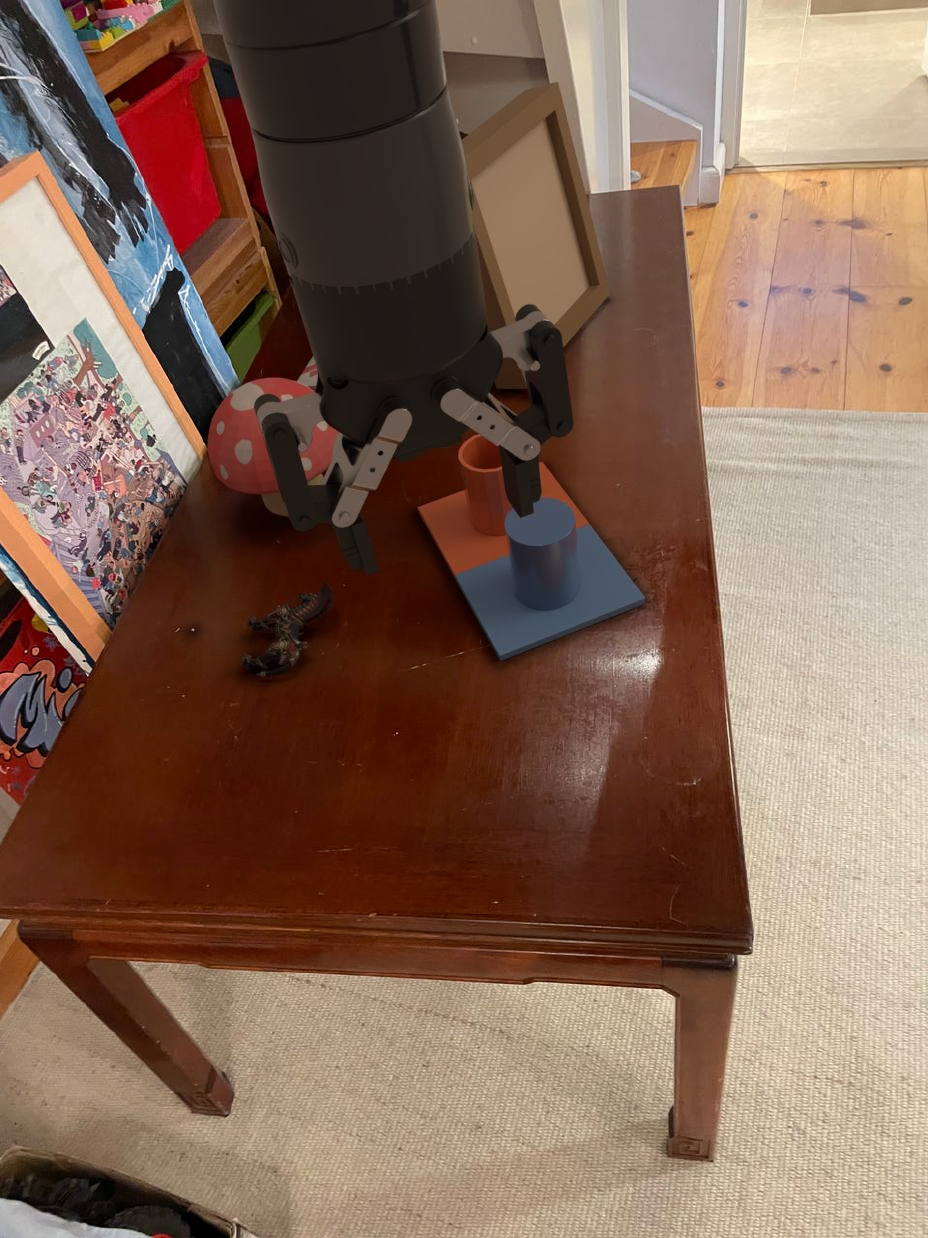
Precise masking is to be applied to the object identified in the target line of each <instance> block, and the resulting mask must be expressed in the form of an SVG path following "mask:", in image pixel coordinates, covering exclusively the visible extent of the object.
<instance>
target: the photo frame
mask: <svg viewBox="0 0 928 1238" xmlns="http://www.w3.org/2000/svg"><path fill="white" fill-rule="evenodd" d="M561 92H562V91H561V88H560V84H559V81H556V82H551V83H547V84H544V85H540V86H536V87H531V88H528V89H525V90H523V91H522V92H521V93H519V94H518V95H517V96H515V97H514V98H513V99H512V100H511V101H509V102H508V103H507V104H505V105H504V106H503V107H502V108H500V109H498V111H496V113H494V114H493V115H491V116H490V117H488V119H487V120H485V121H484V122H483V123H481V124H480V125H479V126H477V127H476V128H475V129H474V130H473V131H471V132H469V133H468V134H467V135H466V136H465V137H463V138H461V141H462V145H463V150H464V156H465V161H466V168H467V175H468V178H469V181H471V185H472V190H473V196H474V204H473V218H474V225H475V232H476V239H477V247H478V255H479V262H480V269H481V276H482V283H483V290H484V297H485V304H486V311H487V320H488V328H489V330H490V332H492V331H495V330H497V329H499V328H502V327H504V326H507V325H509V324H512V323H514V322H515V317H516V314H517V312H518V310H519V309H520V308H521V307H522V306H524V305H527V304H533V305H535V306H536V307H537V308H538V309H539V310H540V311H541V312H542V313H543V314H544V315H545V316H546V317H547V318H548V319H549V320H550V321H551V322H552V323H553V324H554V325H555V326H556V327H557V329H558V330H559V331H560V332H561V335H562V342H563V349H564V348H565V347H566V345H567V344H568V343H569V341H571V340H572V339H573V337H574V336H575V335H576V334H577V333H578V332H579V331H580V329H581V328H583V326H584V325H585V324H586V322H587V321H588V320H589V319H590V318H591V317H592V316H593V314H594V313H595V312H596V311H597V310H598V309H599V307H601V305H602V304H603V303H604V302H605V301H606V299H607V298H608V297H609V296H610V295H611V291H610V287H609V282H608V278H607V274H606V270H605V265H604V262H603V257H602V254H601V250H600V246H599V242H598V238H597V233H596V229H595V225H594V221H593V217H592V213H591V209H590V206H589V202H588V201H589V200H588V197H587V193H586V188H585V186H584V181H583V177H582V173H581V169H580V165H579V161H578V158H577V153H576V149H575V144H574V140H573V137H572V132H571V128H570V125H569V120H568V116H567V113H566V108H565V104H564V100H563V96H562V93H561ZM493 384H494V385H495V389H496V390H528V389H527V383H526V378H525V372H524V371H523V370H521V369H520V368H519V367H518V366H517V365H516V364H515V362H514V361H513V360H512V359H511V358H509V357H507V358H503V364H502V367H501V369H500V371H499V373H498V375H497V377H496V379H495V381H494V383H493Z"/></svg>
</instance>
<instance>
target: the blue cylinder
mask: <svg viewBox="0 0 928 1238" xmlns="http://www.w3.org/2000/svg"><path fill="white" fill-rule="evenodd" d="M533 509H534V513H533V514H530V515H528V516H525V517H522V518H520V517H519V516H518V514H517V513H516V511H515V510H514V508H512V509H511V510H510V511H509V513H508V514H507V516H506V518H505V522H504V527H505V534H506V540H507V547H508V553H509V560H510V566H511V573H512V579H513V586H514V592H515V595H516V597H517V598H518V600H519V601H520V602H521V603H522V604H524V605H525V606H527V607H529V608H532V609H536V610H554V609H558V608H561V607H563V606H565V605H567V604H568V603H570V602H571V601H572V600H573V599H574V598H575V597H576V596H577V594H578V592H579V589H580V573H579V559H578V545H577V531H576V518H575V514H574V511H573V510H572V509H571V507H570V506H569V505H567V504H566V503H564V502H562V501H560V500H557V499H554V498H545V497H542V498H540V500H539V501H537V502H535V503H533Z"/></svg>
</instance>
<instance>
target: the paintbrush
mask: <svg viewBox="0 0 928 1238" xmlns="http://www.w3.org/2000/svg"><path fill="white" fill-rule="evenodd" d="M317 378H318V371H317V365H316V362H315V359H314V356H313V355H312V357H311V358H310V360H309V361H308V363H307V365H306V366H305V368H304V369H303V371H302V373H301V374H300V376H299V377H298V379H297V380H296V381H297V382H300V383H302V384H304V385H306V386H308V387H309V388H311V389H312V390H314V391H315V387H316V383H317Z"/></svg>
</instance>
